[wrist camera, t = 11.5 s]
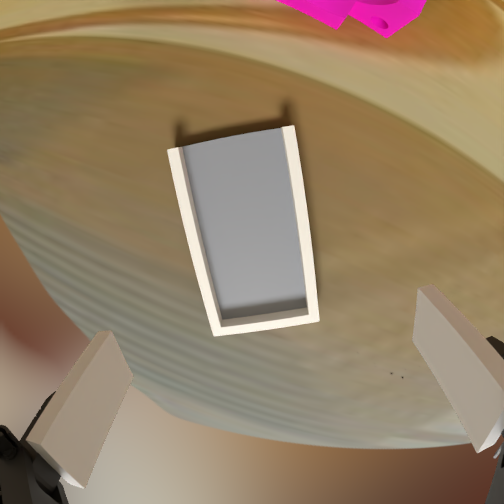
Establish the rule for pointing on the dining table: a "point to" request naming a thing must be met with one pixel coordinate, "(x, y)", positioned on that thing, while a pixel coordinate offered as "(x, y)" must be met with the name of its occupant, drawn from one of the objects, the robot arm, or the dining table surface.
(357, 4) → the toy block
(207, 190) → the tray
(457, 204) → the dining table surface
